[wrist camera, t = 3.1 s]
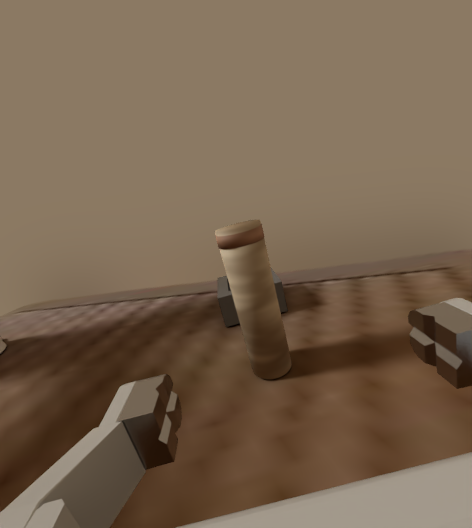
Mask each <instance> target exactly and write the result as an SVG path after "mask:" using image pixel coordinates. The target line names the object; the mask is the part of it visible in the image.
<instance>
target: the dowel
mask: <svg viewBox="0 0 472 528" xmlns="http://www.w3.org/2000/svg"><path fill="white" fill-rule="evenodd" d="M215 234H216V235H215V236H216V240H217V243H218V247H219V249H220V252H221V256H222V259H223V263H224V267H225V270H226V274H227V278H228V281H229V285H230V289H231V292H232V296H233V300H234V303H235V307H236V311H237V314H238V318H239V322H240V325H241V329H242V333H243V336H244V340H245V344H246V347H247V351H248V355H249V358H250V362H251V366H252V369H253V372H254V374H255V375H256V376H258V377H260V378H263V379H275V378H279V377H281V376H283V375H285V374H286V373H287V372H288V371H289V370H290V368H291V364H292V362H291V357H290V353H289V348H288V344H287V339H286V335H285V330H284V326H283V321H282V317H281V312H280V308H279V303H278V299H277V294H276V290H275V285H274V281H273V276H272V272H271V267H270V263H269V258H268V254H267V249H266V245H265V240H264V233H263V228H262V224H261V222H260V220H250V221H245V222H240V223H236V224H233V225H229V226H226V227H223V228H220V229H218V230H216V231H215Z"/></svg>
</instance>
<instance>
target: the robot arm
mask: <svg viewBox="0 0 472 528" xmlns="http://www.w3.org/2000/svg"><path fill="white" fill-rule="evenodd" d="M408 322H409V324H410V325H411V326H413V327H414V328H413V329H412V331H411V333H410V334H409V335H410V344H411V346H412V348H413V350H414V352H415V353H416V354H417V356H418V357H419V358H420V359H421V360H422V361H424V362H425V363H426V364H429V365H433V366H436V368H437V373H438V374H439V375H441V376H442V377H443V378H444V379H445V380H447V381H448V382H449V383H450V384H452V385H453V386H454V387H455V388H457V389H459V388H464V387H468V386H472V303H471V302H469V301H467V300H464V299H462V298H454V299H450V300H447V301H444V302H440V303H438V304H434V305H431V306H427V307H423V308H420V309H416V310H412V311H410V312H409V315H408ZM2 340H3V339H2V337H1V336H0V353H1V352H2V351H3V350H4V349H5V348H6V346H7V345H6V344H5V343H4V342H3V341H2ZM172 386H173V382H172V380H171V378H170V376H169V375H168V374H164V375H160V376H156V377H151V378H147V379H143V380H139V381H135V382H131V383H127V384H123V385H122V386H120V388H119V389H118V391H117V393H116V395H115V397H114V399H113V401H112V403H111V405H110V406H109V408H108V410H107V412H106V414H105V416H104V418H103V420H102V422H101V424H100V425H99V427H97V428H94V429H92V430H91V431H90V432H89V433H88V434H87V435H86V436H85V437H84V438H82V439H81V440H80V441H79V442H78V443H77V444H76V445H75V446H74V447H72V448H71V449H70V450H69V451H68V452H67V453H66V454H65V455H64V456H62V457H61V458H60V459H59V460H58V461H57V462H56V463H55V464H54V465H52V466H51V467H50V468H49V469H48V470H47V471H46V472H45V473H44V474H42V475H41V476H40V477H39V478H38V479H37V480H36V481H35V482H34V483H32V484H31V485H30V486H29V487H28V488H27V489H26V490H25V491H24V492H23V493H21V494H20V495H19V496H18V497H17V498H16V499H15V500H14V501H13V502H11V503H10V504H9V505H8V506H7V507H6V508H5V509H4V510H3V511H1V512H0V528H110V526H111V525H112V523H113V522H114V520H115V519H116V517H117V516H118V514H119V512H120V511H121V509H122V508H123V506H124V505H125V503H126V502H127V500H128V499H129V497H130V495H131V494H132V492H133V491H134V489H135V488H136V486H137V485H138V483H139V482H140V480H141V478H142V477H143V475H144V474H145V472H146V471H145V470H147V469H151V468H154V467H157V466H161V465H164V464H168V463H171V462H174V460H175V454H176V449H177V443H178V438H177V436H176V431H177V430H178V429H179V428H180V425H181V419H182V415H181V405H180V400H179V398H178V395H177V394H175V393H174V392H172ZM176 528H472V452H471V453H467V454H463V455H459V456H455V457H451V458H447V459H443V460H439V461H435V462H431V463H427V464H423V465H420V466H416V467H412V468H408V469H404V470H400V471H396V472H392V473H388V474H384V475H380V476H376V477H373V478H369V479H365V480H361V481H357V482H353V483H349V484H345V485H341V486H337V487H333V488H329V489H326V490H322V491H318V492H314V493H310V494H306V495H302V496H298V497H294V498H290V499H286V500H282V501H278V502H274V503H271V504H267V505H263V506H259V507H255V508H251V509H247V510H243V511H239V512H235V513H231V514H227V515H223V516H219V517H215V518H212V519H208V520H204V521H200V522H196V523H192V524H188V525H184V526H180V527H176Z"/></svg>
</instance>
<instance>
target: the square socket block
mask: <svg viewBox="0 0 472 528" xmlns="http://www.w3.org/2000/svg"><path fill="white" fill-rule="evenodd" d="M271 272H272V276H273V281H274V285H275V290H276V294H277V299H278V303H279V308H280V312H285V311H288V310H287V305H286V300H285V296H284V291H283V286H282V282H281V280H280V279H279V278H278V276H277V275H276V274H275V272H274V271H273V270H272V268H271ZM218 301H219V305H220V308H221V312H222V315H223V318H224V322H225V325H226V327H228V326H232V325H236V324H239V323H240V322H239V318H238V314H237V311H236V307H235V303H234V300H233V296H232V292H231V289H230V285H229V281H228V278H227V276H224V277H220V278H218Z"/></svg>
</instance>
